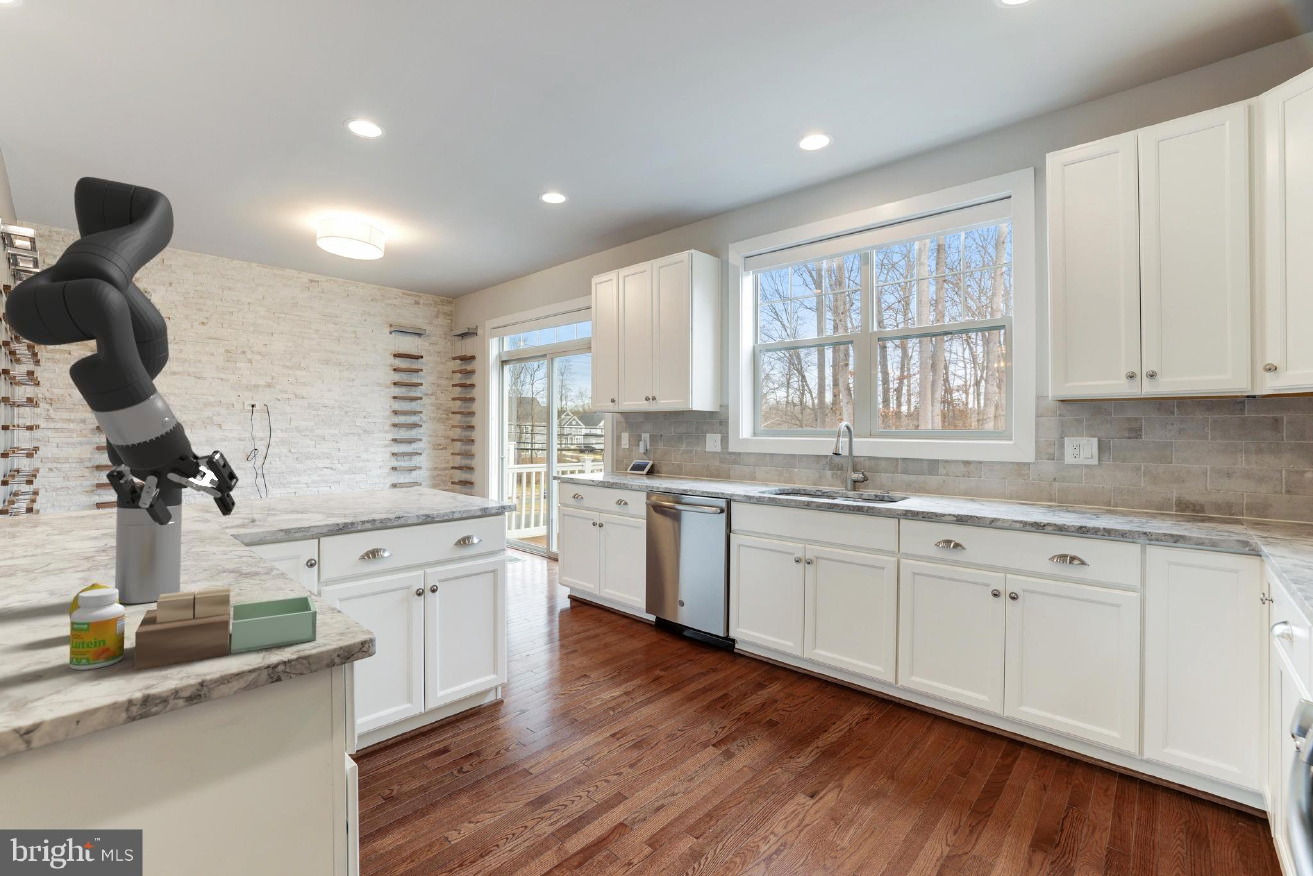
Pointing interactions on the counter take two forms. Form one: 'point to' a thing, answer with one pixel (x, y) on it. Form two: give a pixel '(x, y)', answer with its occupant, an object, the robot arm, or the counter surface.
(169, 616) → the maple block
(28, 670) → the counter surface
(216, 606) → the maple block
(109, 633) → the supplement bottle
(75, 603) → the lemon
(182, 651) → the walnut block
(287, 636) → the tray
